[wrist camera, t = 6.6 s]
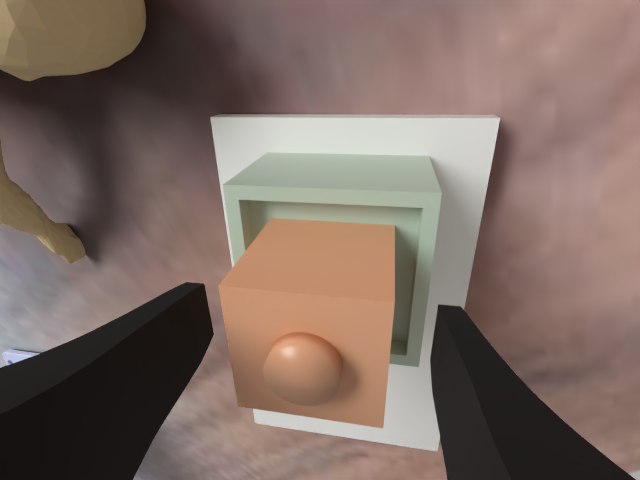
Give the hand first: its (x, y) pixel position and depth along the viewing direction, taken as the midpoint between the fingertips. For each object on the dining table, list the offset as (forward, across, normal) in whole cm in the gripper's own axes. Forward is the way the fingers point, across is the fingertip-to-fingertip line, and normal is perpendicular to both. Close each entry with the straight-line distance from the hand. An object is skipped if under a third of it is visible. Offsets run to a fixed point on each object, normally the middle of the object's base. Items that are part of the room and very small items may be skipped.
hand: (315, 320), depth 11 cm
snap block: (+3, 0, 0) cm, 3 cm away
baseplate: (+8, 0, +5) cm, 9 cm away
